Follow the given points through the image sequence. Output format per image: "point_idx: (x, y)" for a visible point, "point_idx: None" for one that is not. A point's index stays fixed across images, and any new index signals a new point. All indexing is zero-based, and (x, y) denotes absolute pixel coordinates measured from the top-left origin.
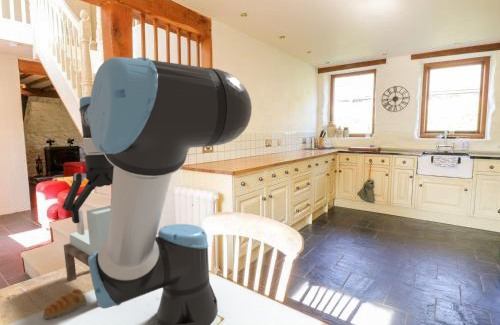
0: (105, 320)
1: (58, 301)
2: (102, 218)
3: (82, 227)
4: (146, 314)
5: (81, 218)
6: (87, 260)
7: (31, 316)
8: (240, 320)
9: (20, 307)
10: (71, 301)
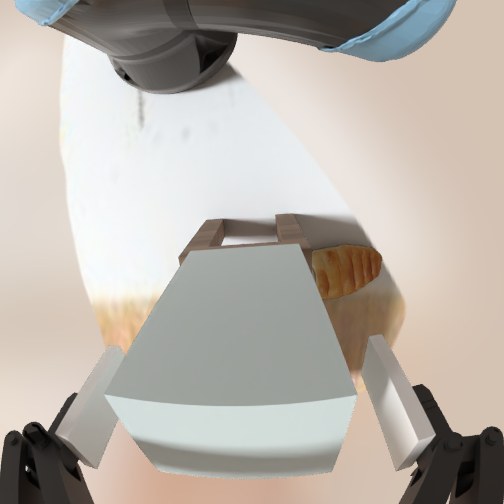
0: (305, 148)
1: (360, 273)
2: (298, 364)
3: (389, 359)
4: (234, 96)
5: (408, 399)
6: None
7: (385, 287)
8: None
9: (382, 331)
10: (343, 254)
